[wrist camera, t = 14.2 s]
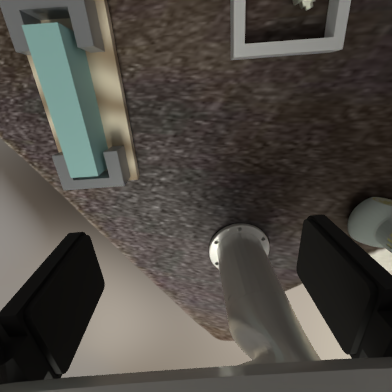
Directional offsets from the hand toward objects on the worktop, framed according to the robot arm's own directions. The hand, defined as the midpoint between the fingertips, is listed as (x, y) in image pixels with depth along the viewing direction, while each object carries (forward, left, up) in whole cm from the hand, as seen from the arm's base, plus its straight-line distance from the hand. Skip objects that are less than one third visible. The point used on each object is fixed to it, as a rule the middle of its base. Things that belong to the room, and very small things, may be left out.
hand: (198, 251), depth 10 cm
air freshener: (-18, -34, -31) cm, 49 cm away
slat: (+6, +16, -29) cm, 33 cm away
